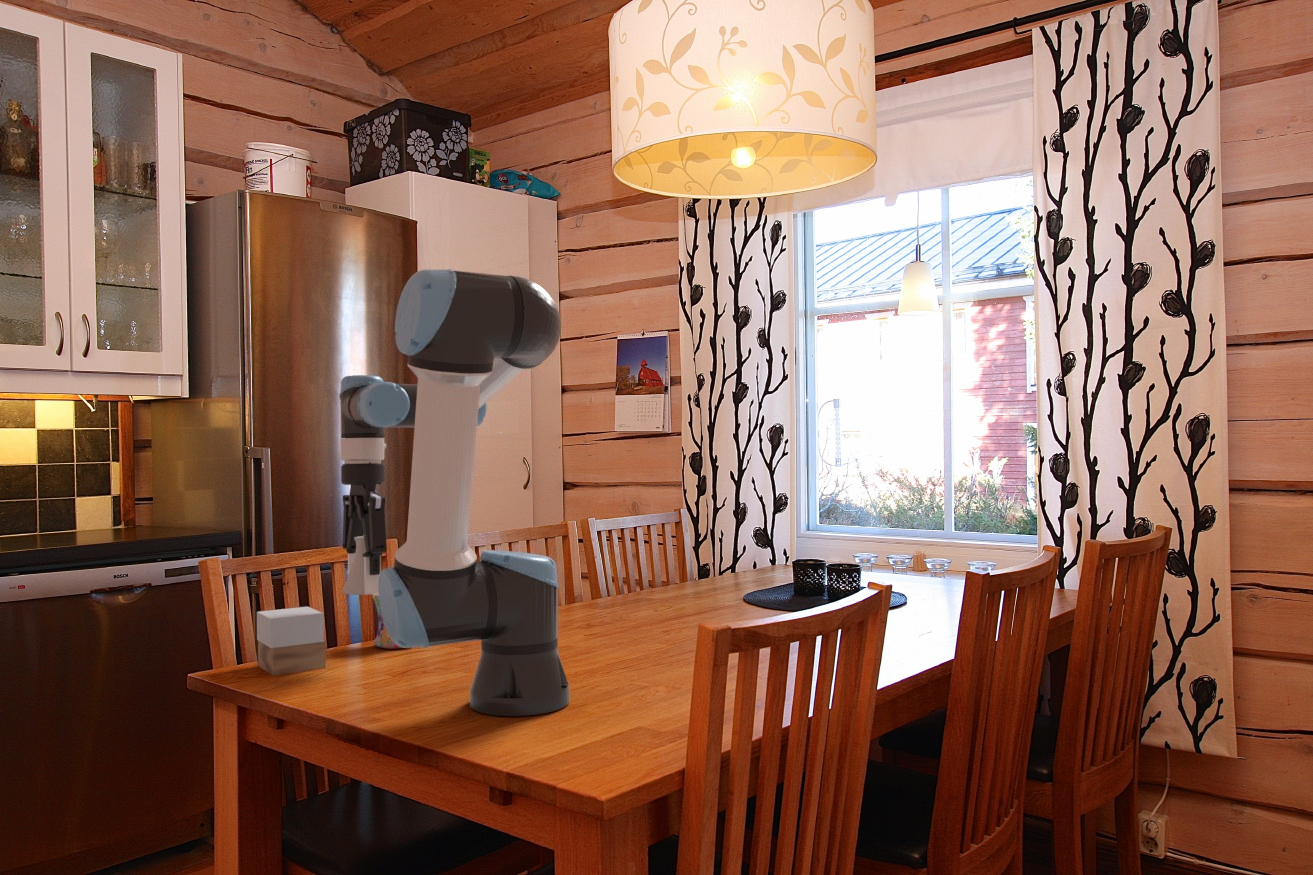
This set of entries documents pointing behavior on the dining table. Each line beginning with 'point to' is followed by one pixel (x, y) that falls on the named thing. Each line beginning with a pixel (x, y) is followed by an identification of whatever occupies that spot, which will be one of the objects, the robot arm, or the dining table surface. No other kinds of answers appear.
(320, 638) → the block top
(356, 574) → the flask
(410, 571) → the robot arm
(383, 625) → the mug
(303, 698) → the dining table surface
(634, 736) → the dining table surface
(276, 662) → the block bottom
